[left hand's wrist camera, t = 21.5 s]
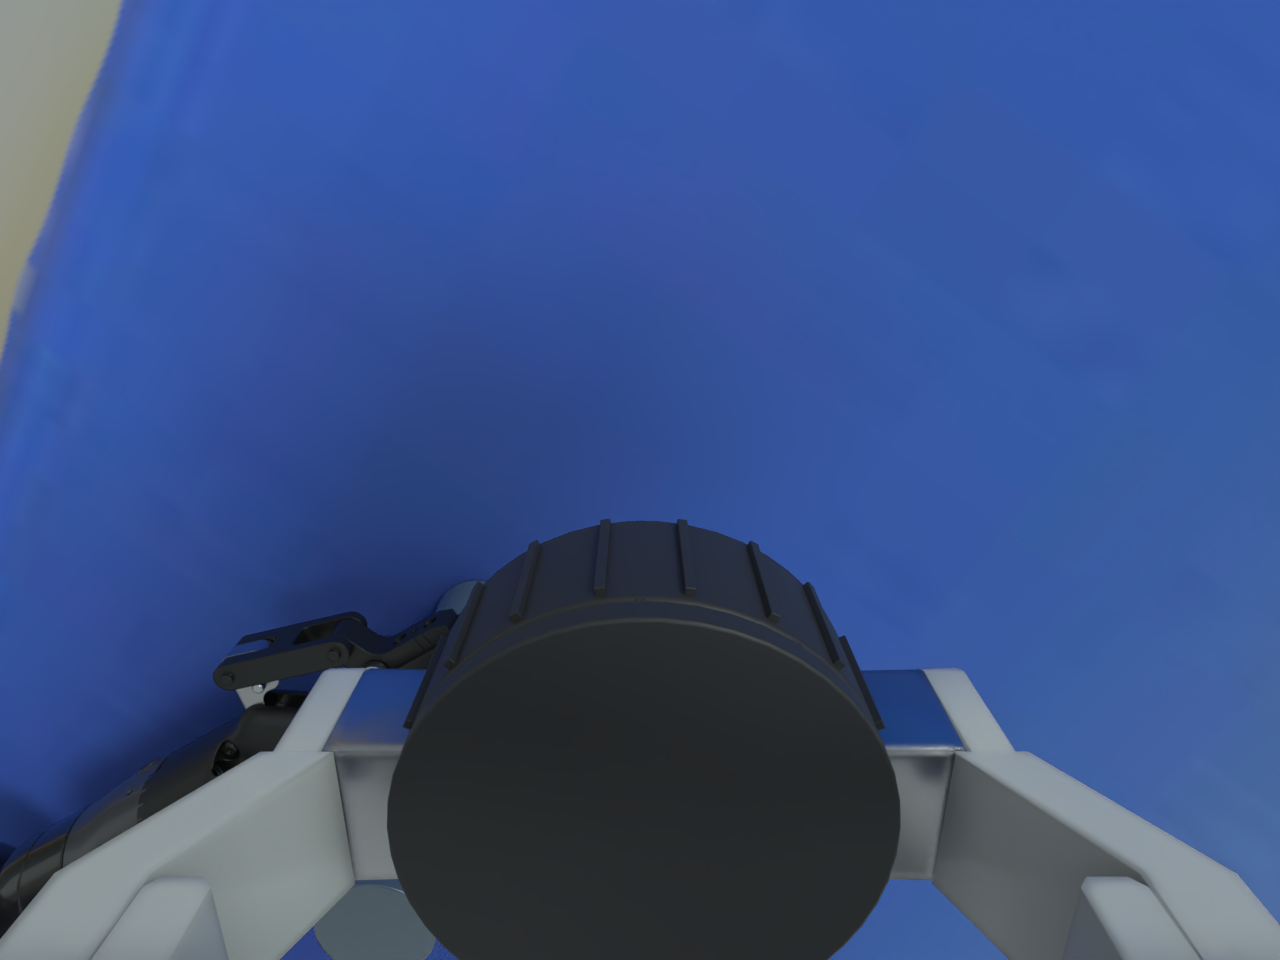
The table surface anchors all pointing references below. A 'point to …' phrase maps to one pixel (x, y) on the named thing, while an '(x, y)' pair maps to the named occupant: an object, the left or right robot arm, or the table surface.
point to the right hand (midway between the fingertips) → (503, 669)
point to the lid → (643, 760)
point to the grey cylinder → (382, 894)
